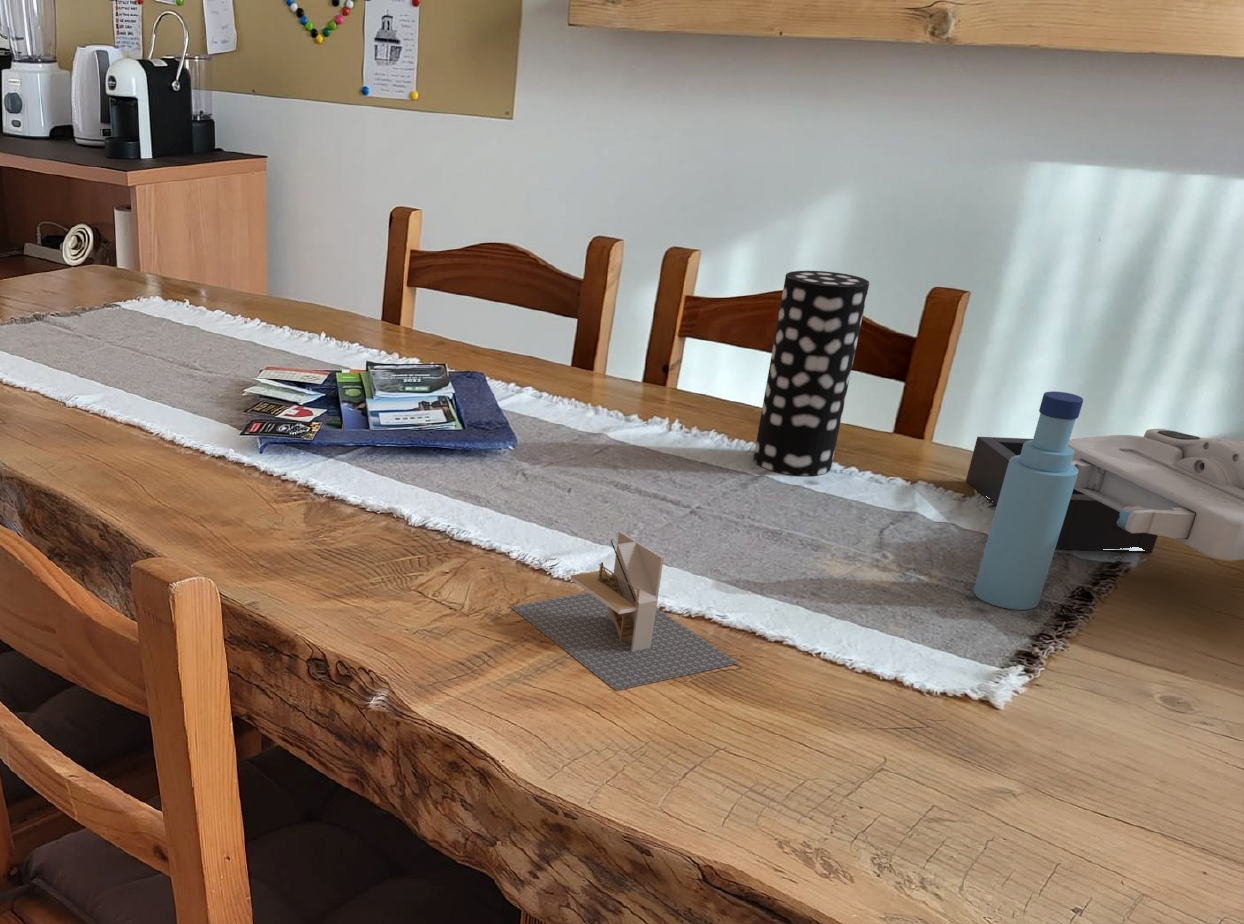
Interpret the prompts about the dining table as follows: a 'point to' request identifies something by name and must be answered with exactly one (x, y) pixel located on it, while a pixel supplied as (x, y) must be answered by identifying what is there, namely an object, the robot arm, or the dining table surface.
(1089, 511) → the holder
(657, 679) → the architectural model
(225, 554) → the dining table surface
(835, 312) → the spotted tube
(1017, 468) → the bottle
